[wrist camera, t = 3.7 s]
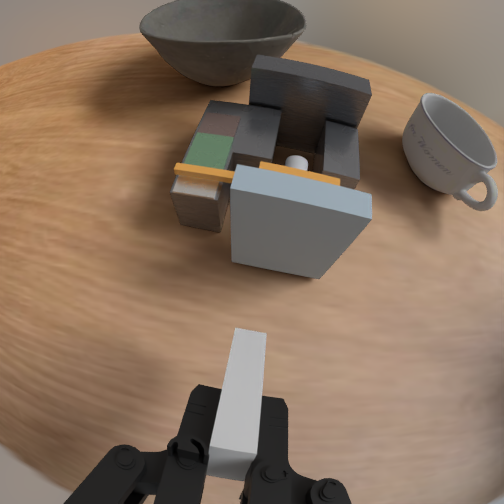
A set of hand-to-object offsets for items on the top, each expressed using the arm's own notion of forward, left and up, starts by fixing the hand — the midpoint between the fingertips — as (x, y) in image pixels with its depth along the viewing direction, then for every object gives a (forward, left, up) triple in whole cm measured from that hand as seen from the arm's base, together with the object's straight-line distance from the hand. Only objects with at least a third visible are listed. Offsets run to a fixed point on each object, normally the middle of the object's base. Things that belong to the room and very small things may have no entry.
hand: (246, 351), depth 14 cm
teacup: (-18, -22, -7) cm, 29 cm away
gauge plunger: (-1, -11, -7) cm, 13 cm away
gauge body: (+1, -16, -7) cm, 18 cm away
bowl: (+9, -32, -7) cm, 34 cm away
